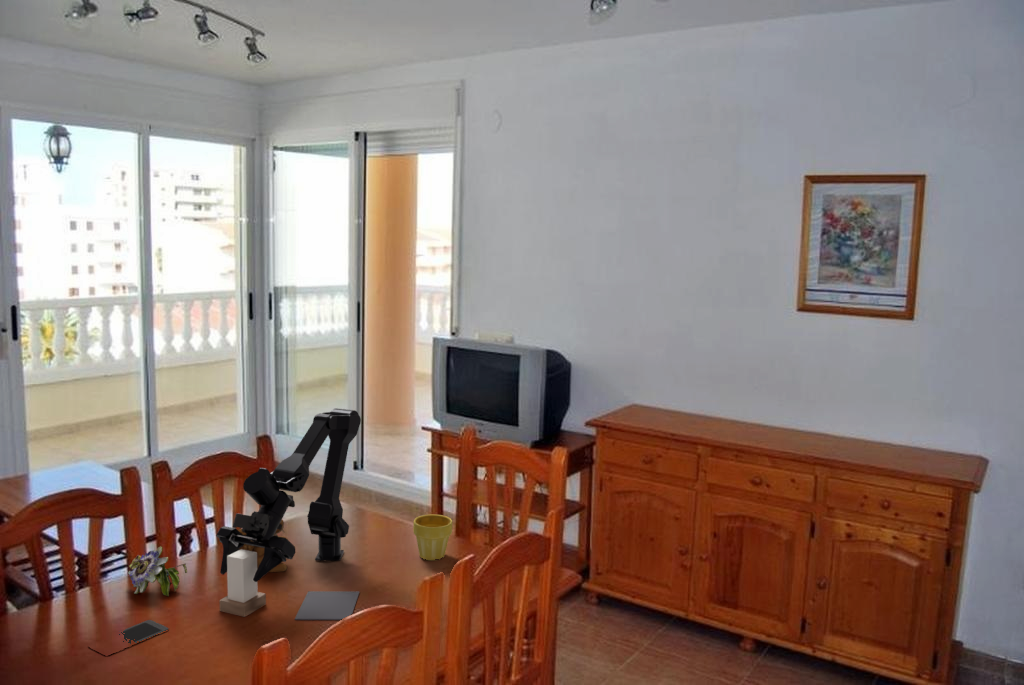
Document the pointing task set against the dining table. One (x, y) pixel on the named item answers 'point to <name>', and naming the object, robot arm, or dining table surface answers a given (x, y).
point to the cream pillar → (242, 575)
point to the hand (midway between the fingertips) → (238, 577)
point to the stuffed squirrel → (260, 551)
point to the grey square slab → (242, 605)
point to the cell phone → (143, 631)
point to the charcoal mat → (327, 605)
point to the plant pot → (432, 535)
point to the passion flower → (153, 572)
